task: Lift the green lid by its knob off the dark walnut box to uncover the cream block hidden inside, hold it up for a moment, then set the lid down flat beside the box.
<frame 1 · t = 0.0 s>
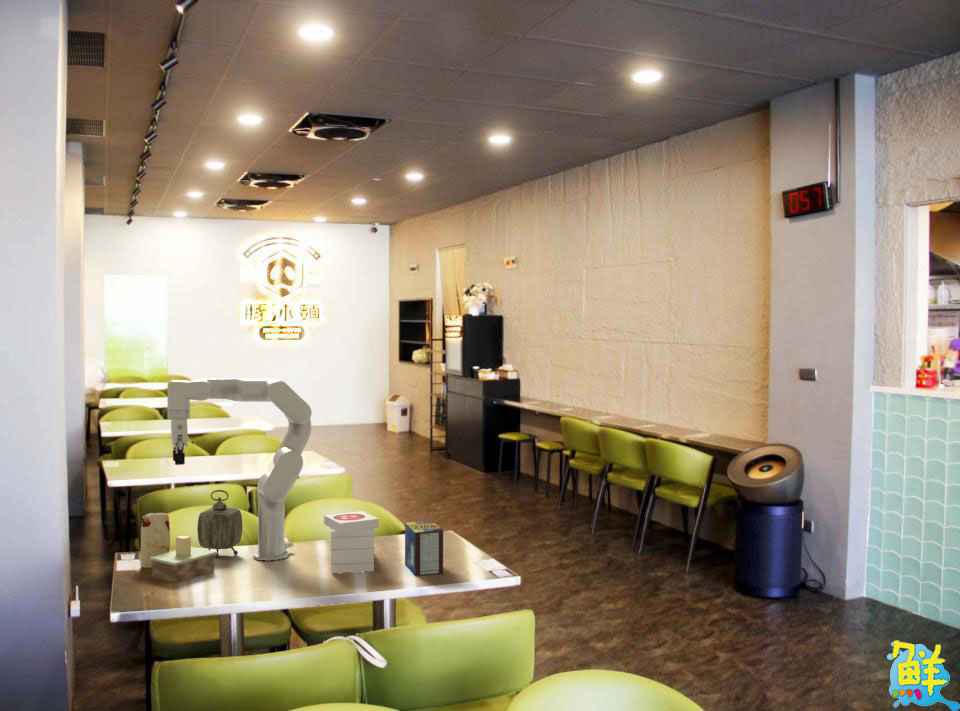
hand: (178, 462, 294), 37 cm above the table, tool pointing down, fingers open, 9 cm apart
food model: (155, 569, 292), on the table
protein box: (423, 569, 295), on the table
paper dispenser: (350, 563, 302), on the table
lid: (183, 559, 282), point 6 cm above the table, touching box
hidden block: (183, 574, 282), point 1 cm above the table, touching box
tabletop clock: (219, 557, 309), on the table
box: (183, 577, 282), on the table
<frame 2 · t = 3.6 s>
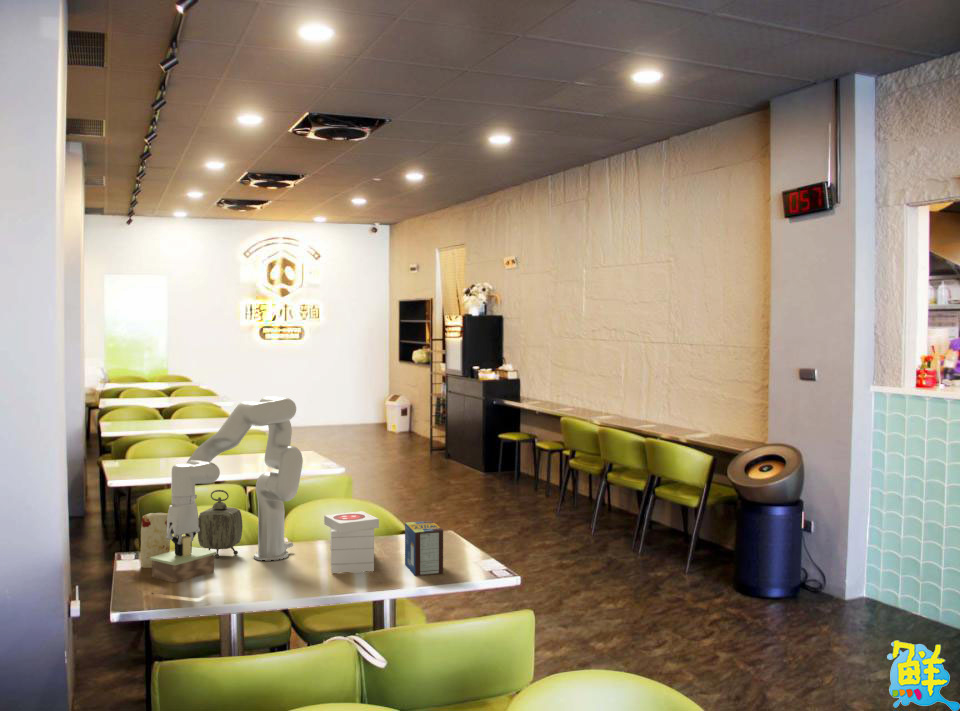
hand: (183, 553, 282), 8 cm above the table, tool pointing down, fingers closed on lid, 3 cm apart
lid: (183, 559, 282), point 6 cm above the table, touching box, gripper
everything else where it was.
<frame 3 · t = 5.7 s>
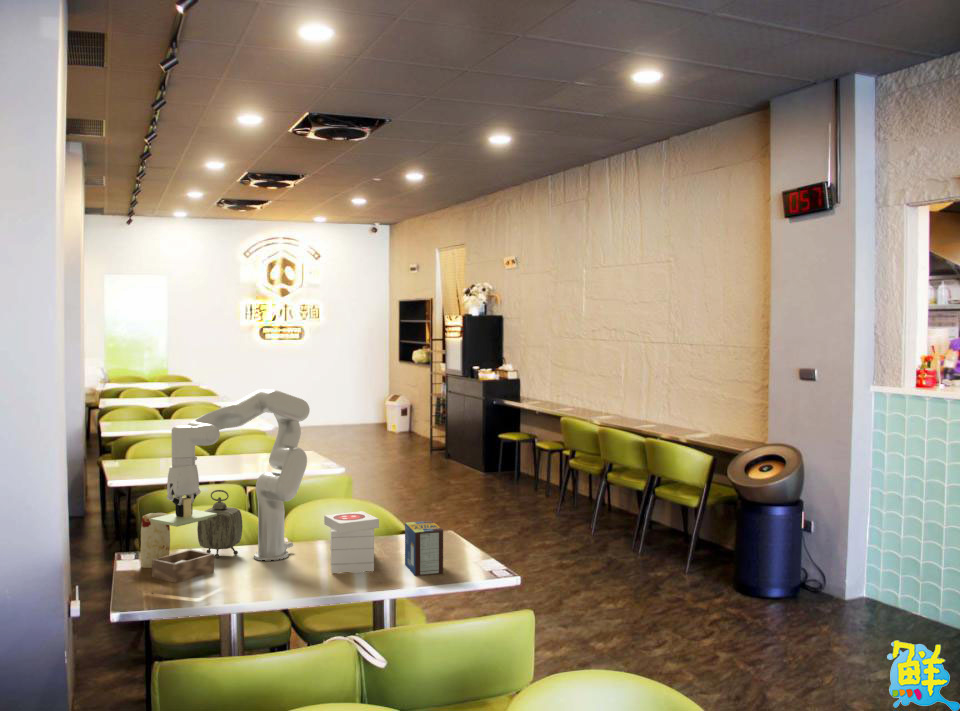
hand: (184, 514, 282), 21 cm above the table, tool pointing down, fingers closed on lid, 3 cm apart
lid: (184, 521, 282), point 19 cm above the table, touching gripper
everything else where it was.
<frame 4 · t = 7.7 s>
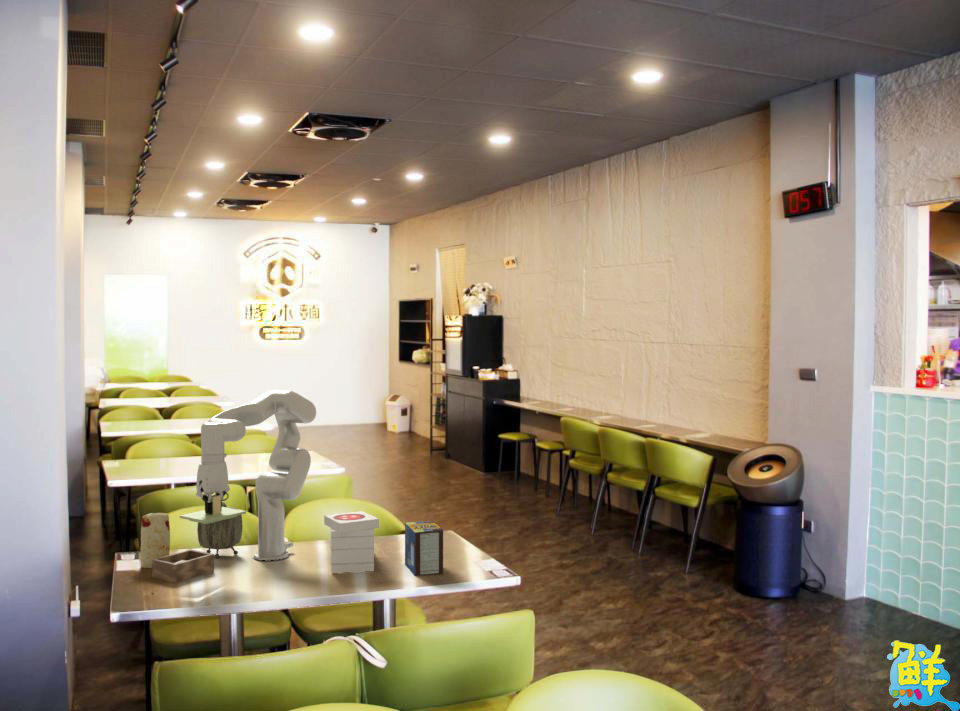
hand: (213, 512, 280), 23 cm above the table, tool pointing down, fingers closed on lid, 3 cm apart
lid: (213, 518, 280), point 21 cm above the table, touching gripper
everything else where it was.
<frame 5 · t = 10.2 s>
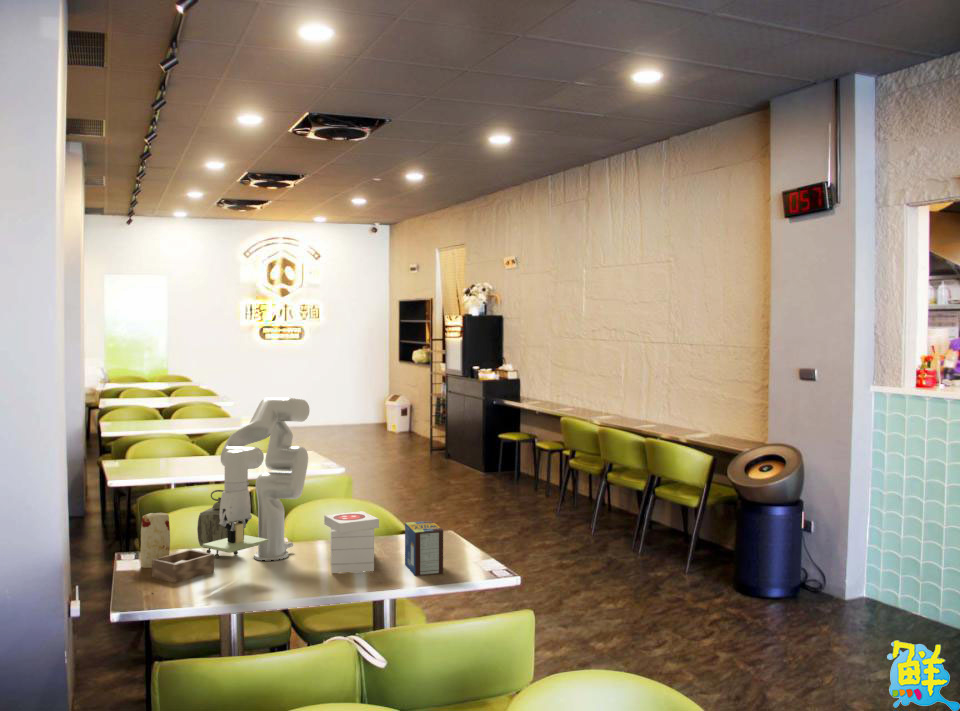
hand: (235, 540, 278), 14 cm above the table, tool pointing down, fingers closed on lid, 3 cm apart
lid: (235, 547, 278), point 11 cm above the table, touching gripper
everything else where it was.
when the fingers open (4 cm above the table, at t = 12.3 s): lid drops 2 cm, on the table.
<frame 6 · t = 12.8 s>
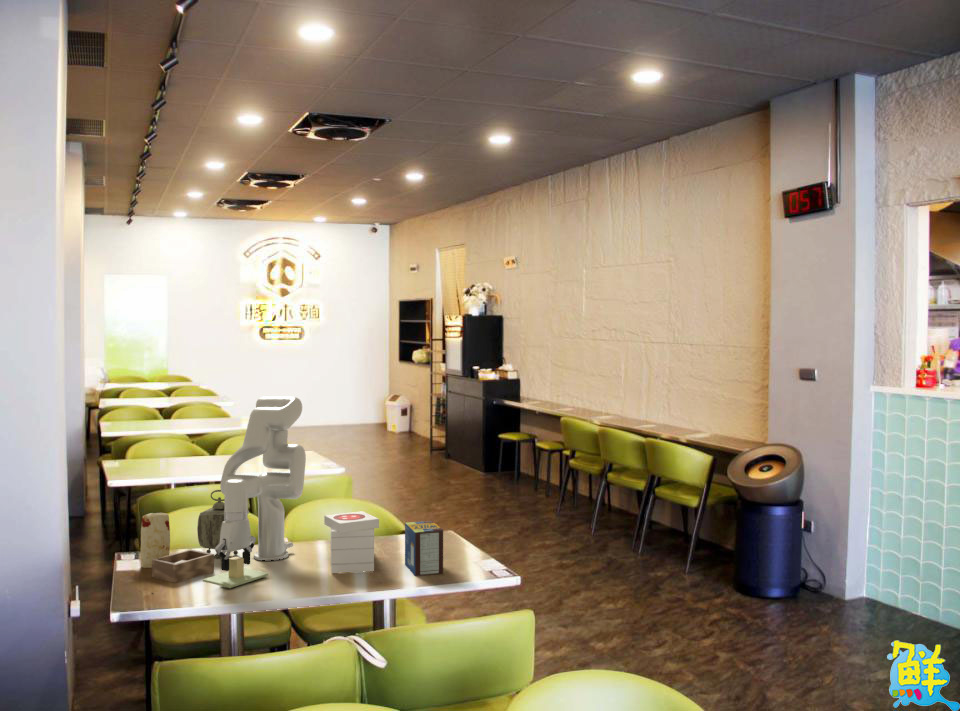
hand: (235, 566, 278), 5 cm above the table, tool pointing down, fingers open, 8 cm apart
lid: (236, 581, 279), on the table
everything else where it was.
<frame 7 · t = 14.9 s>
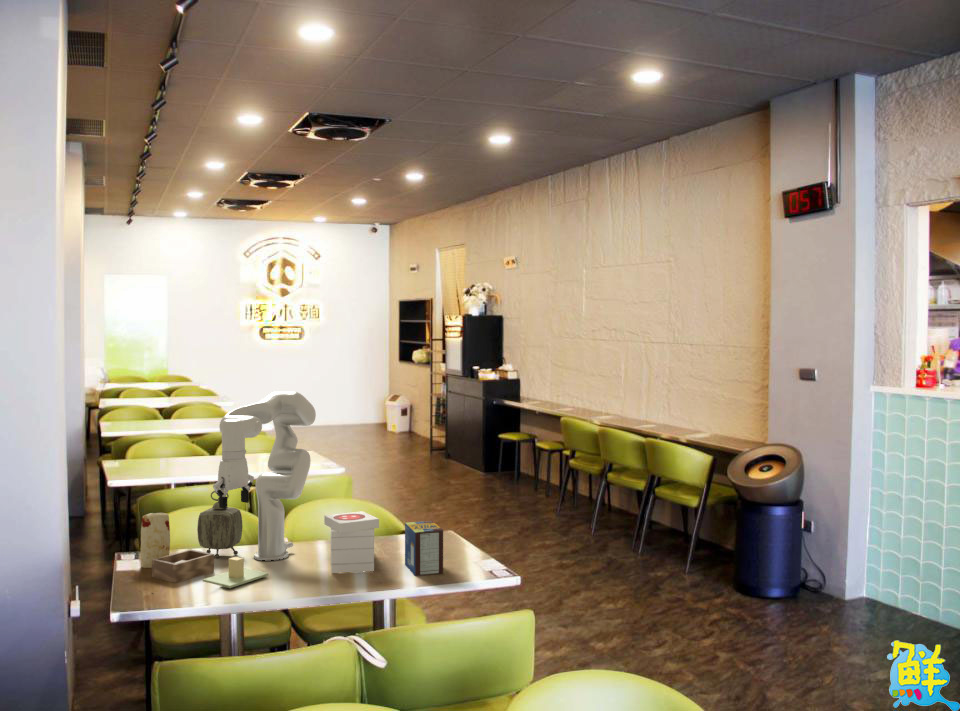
hand: (234, 505, 281), 25 cm above the table, tool pointing down, fingers open, 9 cm apart
nothing on the table moved.
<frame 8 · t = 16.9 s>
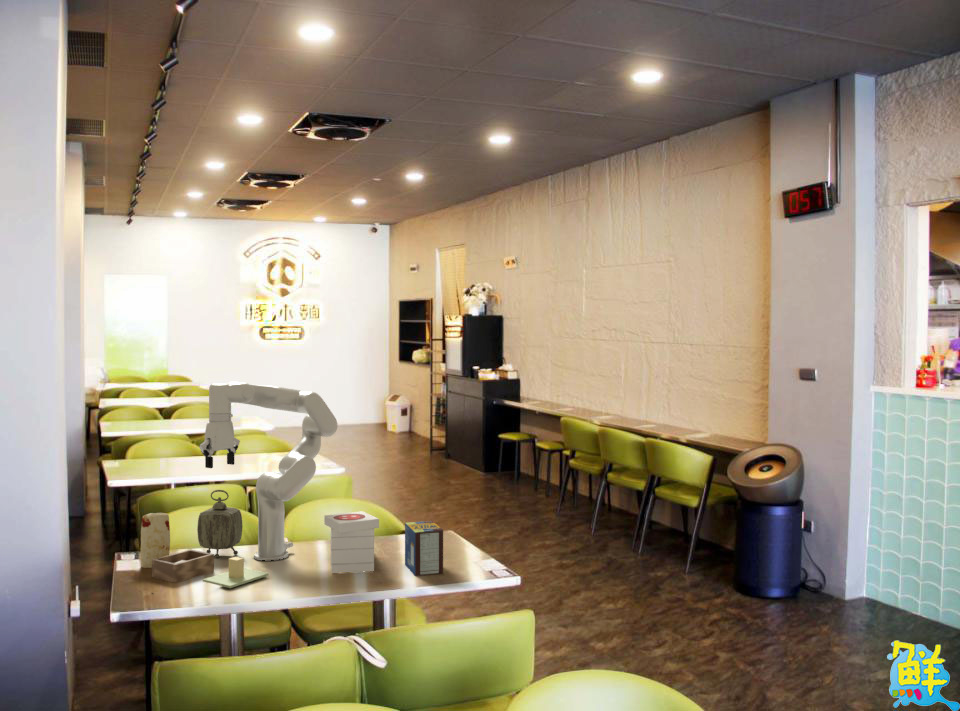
hand: (220, 466, 293), 36 cm above the table, tool pointing down, fingers open, 9 cm apart
nothing on the table moved.
at the end: lid inside the target area (0.1 cm from its centre), on the table; lid touching table; lid tilted 0° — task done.
